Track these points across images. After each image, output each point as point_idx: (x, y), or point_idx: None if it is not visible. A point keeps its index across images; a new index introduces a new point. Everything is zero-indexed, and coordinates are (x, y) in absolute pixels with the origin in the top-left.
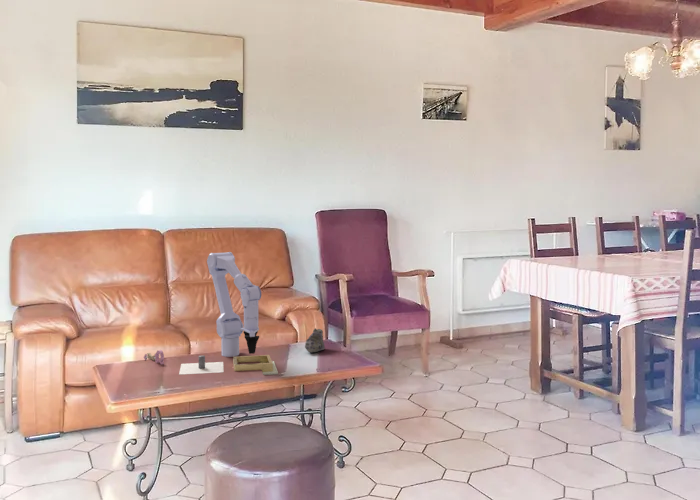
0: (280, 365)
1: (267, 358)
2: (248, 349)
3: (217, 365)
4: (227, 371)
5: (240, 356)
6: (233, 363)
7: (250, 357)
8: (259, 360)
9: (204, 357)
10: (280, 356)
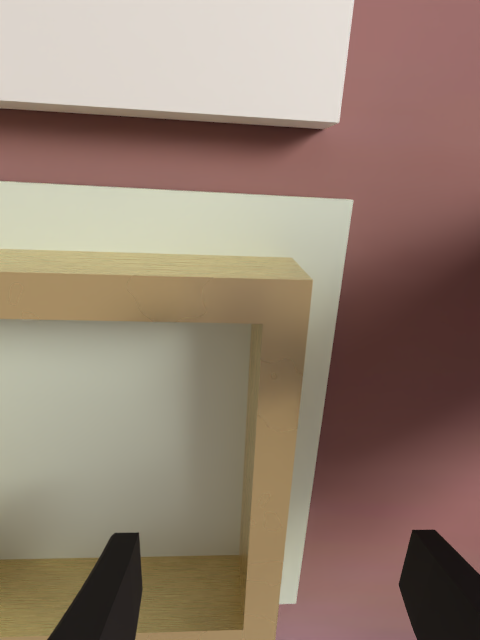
0: None
1: None
2: (82, 591)
3: (131, 6)
4: (19, 164)
5: (288, 379)
6: (199, 260)
7: (249, 481)
8: (244, 529)
9: None
10: None
